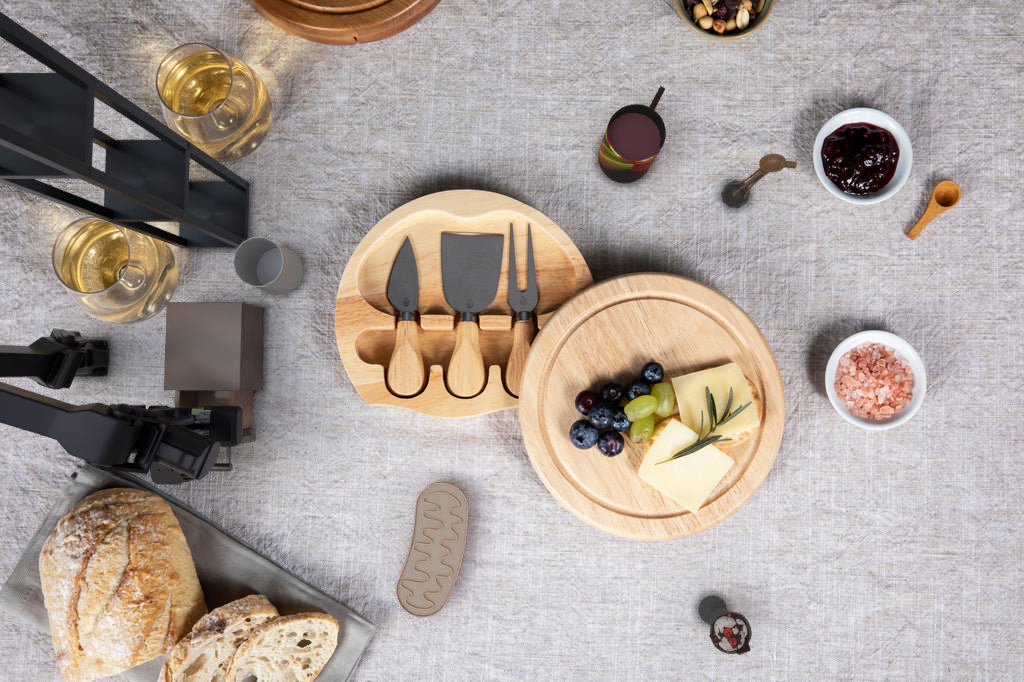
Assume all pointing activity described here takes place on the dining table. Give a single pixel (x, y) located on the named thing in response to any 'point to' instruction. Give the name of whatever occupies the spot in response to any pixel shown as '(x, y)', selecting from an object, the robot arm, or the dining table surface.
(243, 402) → the drawer
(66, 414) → the robot arm
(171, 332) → the cabinet
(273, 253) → the cup
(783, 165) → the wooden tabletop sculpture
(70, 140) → the rack
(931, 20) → the dining table surface
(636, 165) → the mug
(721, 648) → the sundae
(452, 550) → the mitochondrion model
